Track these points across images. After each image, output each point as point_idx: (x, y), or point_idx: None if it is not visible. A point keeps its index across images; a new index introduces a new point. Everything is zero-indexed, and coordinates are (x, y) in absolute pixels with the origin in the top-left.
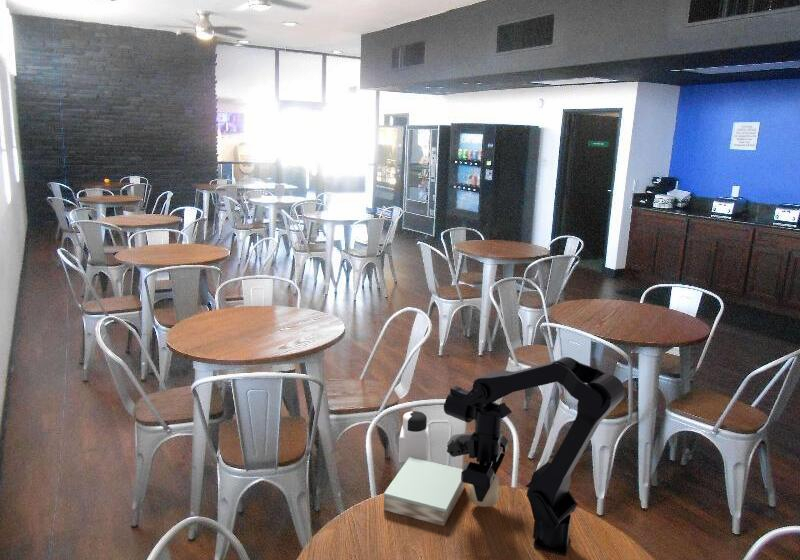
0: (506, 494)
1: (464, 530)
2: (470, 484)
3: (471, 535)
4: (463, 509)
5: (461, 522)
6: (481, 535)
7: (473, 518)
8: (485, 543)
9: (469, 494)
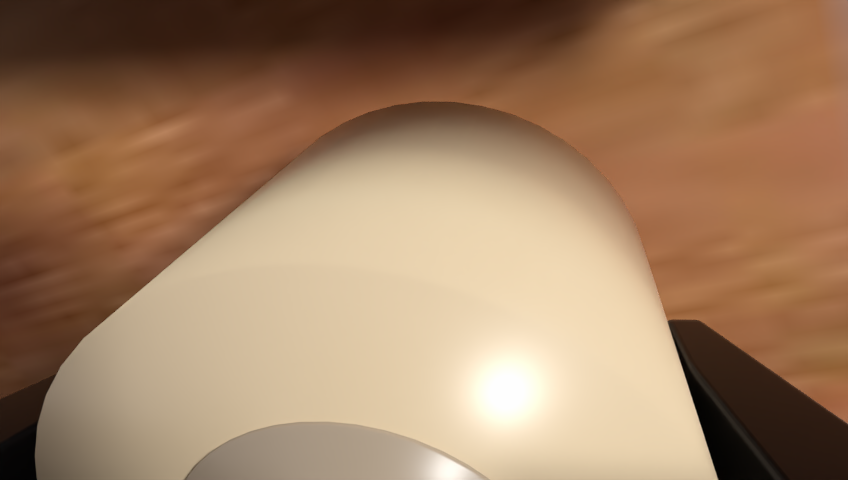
0: (836, 407)
1: (18, 180)
2: (190, 247)
3: (10, 255)
4: (304, 49)
5: (92, 113)
6: (70, 325)
7: (226, 203)
8: (16, 369)
9: (308, 149)
